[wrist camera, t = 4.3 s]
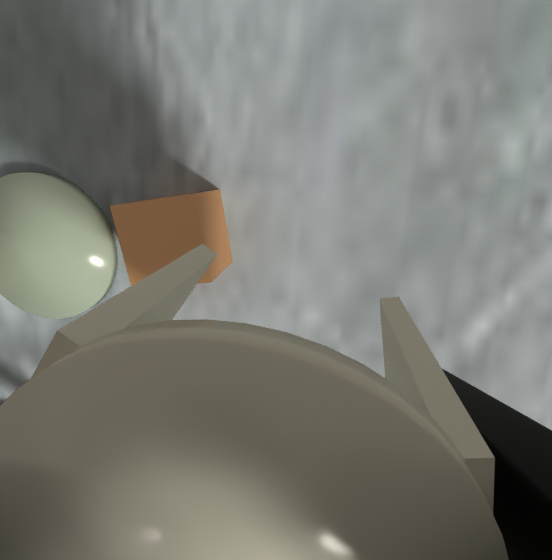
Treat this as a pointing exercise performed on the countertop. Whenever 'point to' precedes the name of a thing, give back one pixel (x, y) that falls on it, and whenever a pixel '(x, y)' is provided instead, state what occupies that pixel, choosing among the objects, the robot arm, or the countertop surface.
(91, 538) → the cover
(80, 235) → the dish
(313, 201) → the countertop surface
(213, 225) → the block
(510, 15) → the countertop surface
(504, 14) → the countertop surface
